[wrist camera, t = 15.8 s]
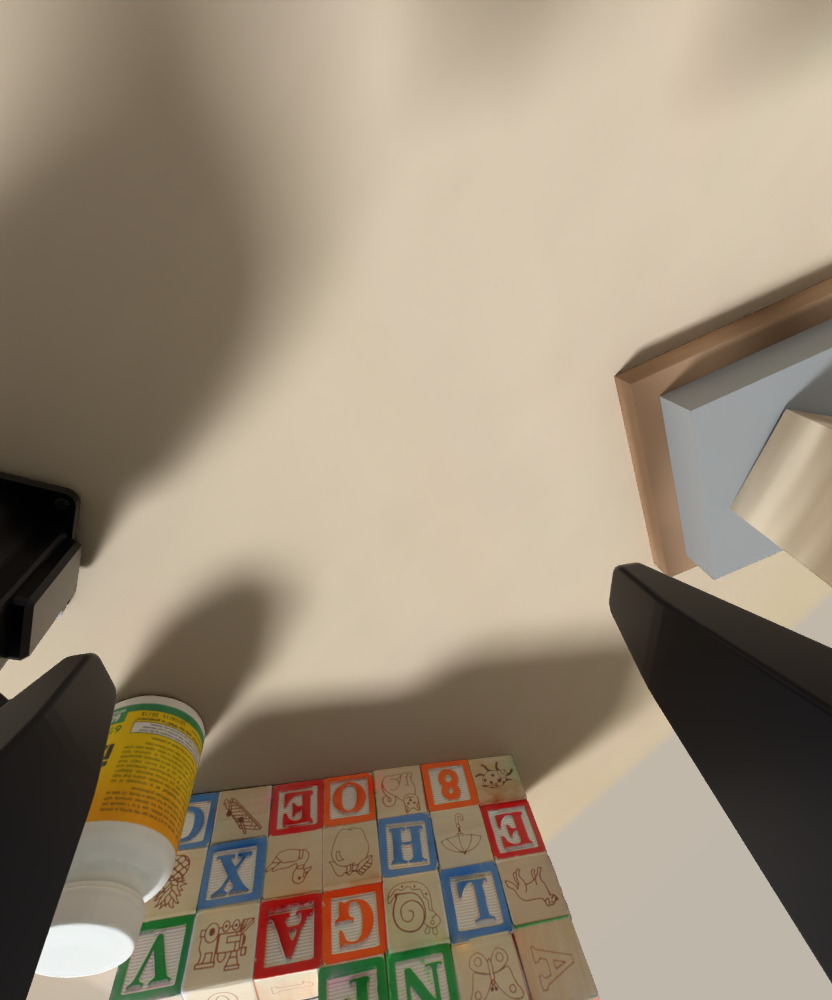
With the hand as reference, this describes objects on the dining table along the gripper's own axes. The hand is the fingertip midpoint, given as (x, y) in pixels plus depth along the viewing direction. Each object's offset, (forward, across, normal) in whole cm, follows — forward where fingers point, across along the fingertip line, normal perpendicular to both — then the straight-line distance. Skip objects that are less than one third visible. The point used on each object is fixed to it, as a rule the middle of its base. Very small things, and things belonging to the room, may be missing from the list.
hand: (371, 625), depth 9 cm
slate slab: (+12, -18, +4) cm, 22 cm away
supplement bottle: (+13, +13, +16) cm, 24 cm away
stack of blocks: (+13, +4, +26) cm, 30 cm away
